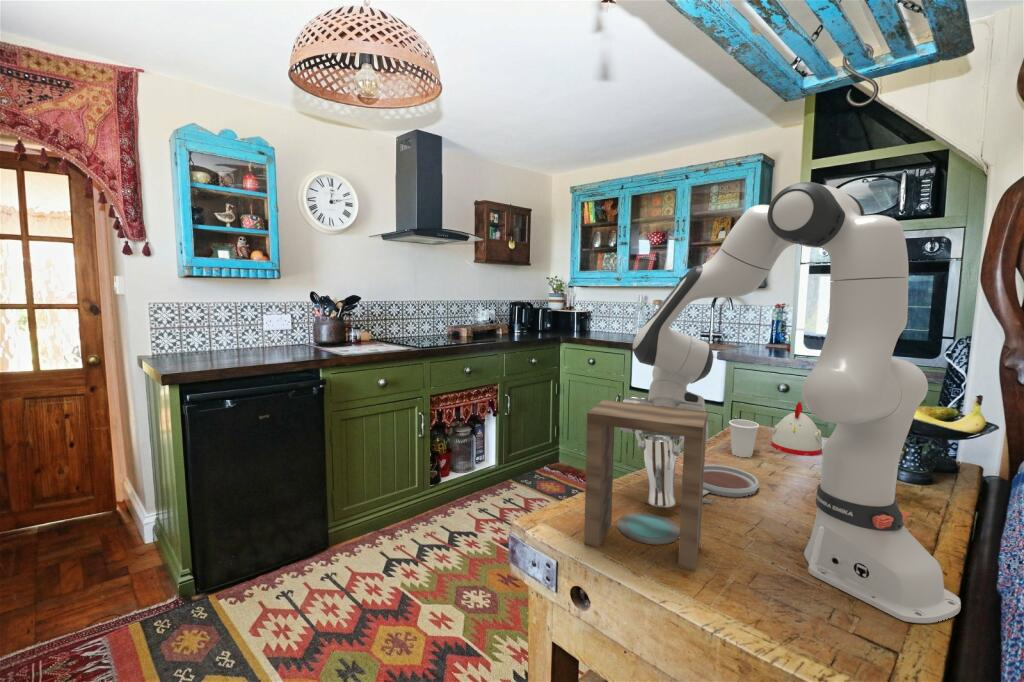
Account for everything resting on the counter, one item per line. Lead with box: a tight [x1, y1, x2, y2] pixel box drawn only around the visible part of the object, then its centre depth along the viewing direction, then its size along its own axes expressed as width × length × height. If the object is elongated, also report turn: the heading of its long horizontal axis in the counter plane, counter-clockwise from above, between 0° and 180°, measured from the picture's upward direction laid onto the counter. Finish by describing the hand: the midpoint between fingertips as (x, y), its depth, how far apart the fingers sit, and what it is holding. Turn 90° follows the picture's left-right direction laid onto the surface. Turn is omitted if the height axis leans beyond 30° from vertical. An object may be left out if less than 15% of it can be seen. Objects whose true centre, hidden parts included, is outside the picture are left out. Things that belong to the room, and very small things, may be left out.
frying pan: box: [681, 464, 760, 505], centre depth 122 cm, size 17×3×28 cm
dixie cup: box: [728, 418, 760, 458], centre depth 147 cm, size 8×8×10 cm
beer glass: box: [643, 435, 677, 508], centre depth 110 cm, size 7×7×15 cm
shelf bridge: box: [583, 399, 709, 572], centre depth 99 cm, size 18×21×27 cm
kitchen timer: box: [771, 401, 823, 457], centre depth 153 cm, size 14×14×15 cm
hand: (658, 451), depth 109 cm, fingers closed on beer glass, 6 cm apart
